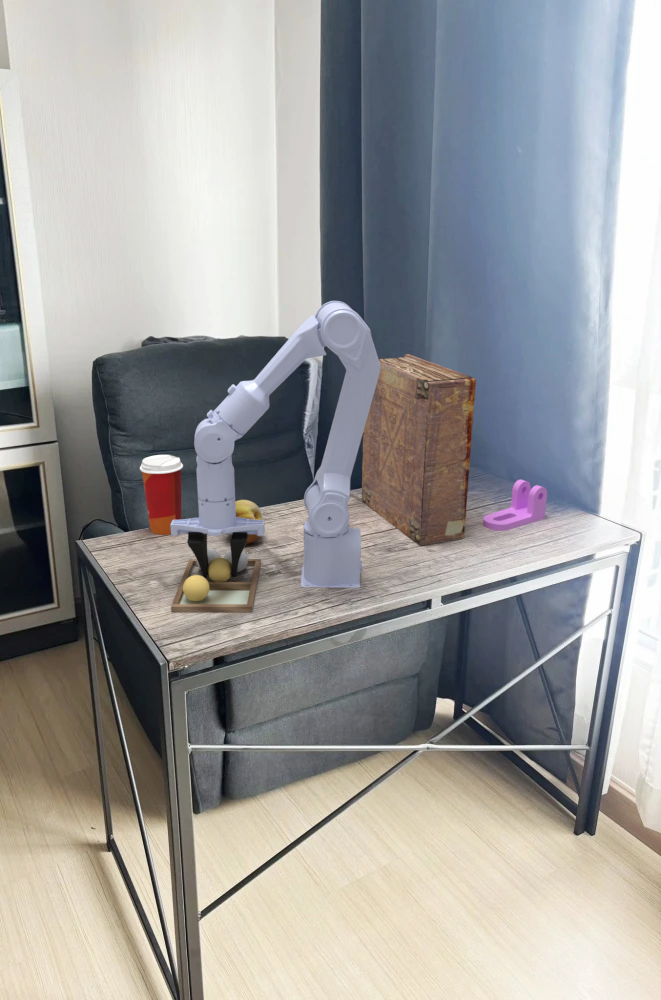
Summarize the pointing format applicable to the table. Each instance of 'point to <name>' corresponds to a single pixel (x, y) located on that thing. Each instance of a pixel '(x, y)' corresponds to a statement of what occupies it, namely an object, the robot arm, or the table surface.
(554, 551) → the table surface
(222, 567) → the ochre ball
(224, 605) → the sorting board
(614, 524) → the table surface
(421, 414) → the book
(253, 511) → the fruit
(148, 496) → the paper cup
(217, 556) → the grey ball
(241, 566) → the grey ball
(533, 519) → the bracket
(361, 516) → the table surface
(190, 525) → the robot arm
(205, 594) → the ochre ball
